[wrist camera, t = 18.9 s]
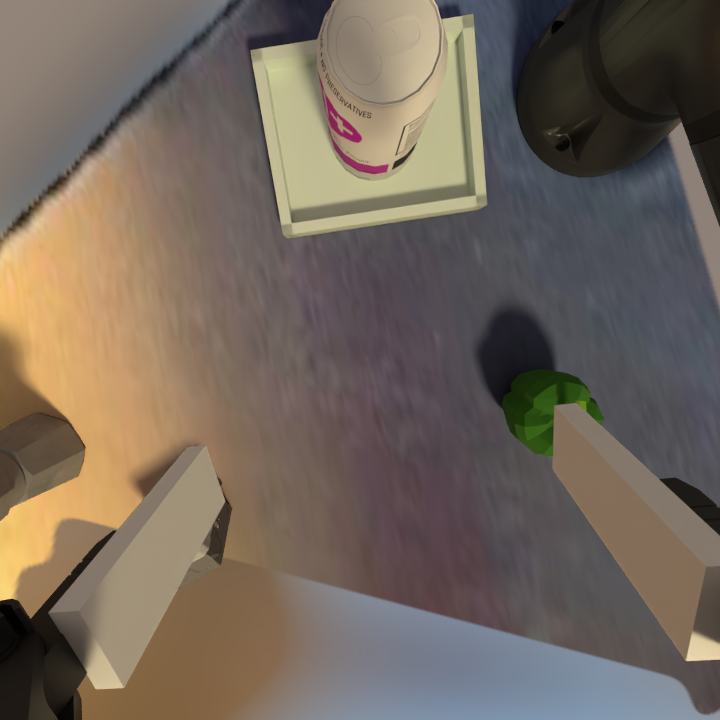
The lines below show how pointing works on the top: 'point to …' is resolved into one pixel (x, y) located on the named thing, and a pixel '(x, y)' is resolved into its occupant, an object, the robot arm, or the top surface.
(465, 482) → the top surface
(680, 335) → the top surface
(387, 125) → the supplement can
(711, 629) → the robot arm
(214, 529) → the electrical switch
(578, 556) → the top surface
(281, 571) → the top surface
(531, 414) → the bell pepper
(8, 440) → the coffeepot
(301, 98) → the tray
